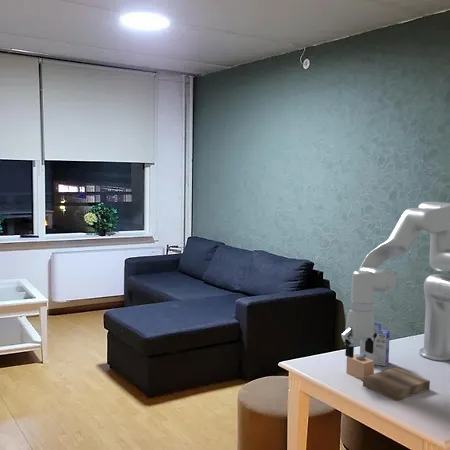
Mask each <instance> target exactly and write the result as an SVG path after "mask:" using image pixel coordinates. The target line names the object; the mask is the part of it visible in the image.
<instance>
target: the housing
mask: <svg viewBox="0 0 450 450" xmlns="http://www.w3.org/2000/svg"><path fill="white" fill-rule="evenodd" d="M345 370H346V374H348V375H351V376H352V377H355V378H357V379H359V380H362V381H363V377H364V376H368V375H371V374H375V364H374V361H373V360H371V359H368V358H365V356H364V355H360V354H358V353H357V354H354V355H353V358H350V357H347V356H346V369H345Z"/></svg>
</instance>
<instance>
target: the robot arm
mask: <svg viewBox="0 0 450 450" xmlns="http://www.w3.org/2000/svg"><path fill="white" fill-rule="evenodd" d="M420 233H424V234H429V239H430V240H429V258H428V259H429V266H430V268H431V269H432V270H434V271H437V272H441V273H445V274H450V202H441V201H424V202H421V203H420V204H418V207H410V208H407V209H405V210H404V211H403V212H402V214H401V215H400V217H399V219H398V220H397V223H396V224H395V226H394V227H393V230H392V231H391V233H390V234H389V237H388V238H387V240H385V241H384V242H383V243H381V244H379V245H378V246H376V247H375V248H374V249H372V250H371V251H369V253H368V254H367V255H366V256H365V257H364V259H363V261H362V263H361V264H360V267H359V268H358V270H354V271H353V272H352V274H351V287H350V288H351V293H350V308H349V310H348V312H347V315H346V316H347V317H346V322H345V331H343V333H341V334H340V335H341V340H342V342H343V343H344V346H345V351H344V352H345V354H344V355H345V357H346V358H347V357H350V358H353V355H355V354H354V353H355V352H354V351H355V350H354V349H355V348H354V347H355V346H353V345H354V344H355V342H356V341H360V340H362V339H367V340H366V341H365V351H366V352H369V353H373V344H374V342H375V338H376V336H377V333H378V330H379V327H378V326H377V325H374V323H375V312H374V297H375V296H374V295H375V292H382V293H387V292H390V291H392V290H393V289H394V288H395V287H396V285H397V277H396V275H395V273H393V272H391V271H389V270H386V269H382V268H379V267H380V266H381V265H382V264H383V263H385V262H387V261H388V260H390V259H395V258H397V257H401V256H403V255H406V254H409V252H410V251H411V249H412V247H413V245H414V243H415V242H416V240H417V238H418V237H419V235H420ZM423 292H424V301H425V313H424V332H423V333H424V334H423V335H424V336H423V338H424V339H423V347H422V348H420V349H419V350H418V351H419V352H418V354H419V355H420V356H421V357H424V358H426V359H428V360H434V361H442V362H444V361H445V362H446V361H450V275H444V274H440V273H434V274H429V275H427V276H426V278H425V280H424V282H423Z"/></svg>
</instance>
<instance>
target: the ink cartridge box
mask: <svg viewBox="0 0 450 450" xmlns="http://www.w3.org/2000/svg"><path fill="white" fill-rule="evenodd" d="M374 326H376V327H378V328H379V330H378V333H377V336H376V338H375V342H374V344H373V353H369V352H366V351H365V341H366V340H367V339H362V340H359V355H364V356H365V358H368V359H371V360H373V361H374V365H377V366H383V367H385V366H387V365H388V364H389V362H390V361H389V360H390V358H389V357H390V337H391V335H390V330H387V329H382V328H381V327H382V323H377V322H374Z"/></svg>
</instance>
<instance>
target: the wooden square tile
mask: <svg viewBox="0 0 450 450" xmlns="http://www.w3.org/2000/svg"><path fill="white" fill-rule="evenodd" d="M430 382H431V381H430V380H429V379H427V378H423V377H422V376H419V375H416V374H414V373H411V372H409V371H406V370H403V369H401V368H399V367H391V368H388V369H385V370H382V371H381V370H380V371H378V372H374V374H371V375H368V376H364V377H363V380H362V386H364V387H366V388H368V389H370V390H372V391H373V392H374V391H375V392H377V393H379V394H381V395H383V396H385V397H387V398H389V399H390V398H391V399H392V400H395V401H400V400H403V399H406V398H409V397H411V396H412V397H413V396H415V395H417V394H421V393H424V392H426V391H430Z"/></svg>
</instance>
